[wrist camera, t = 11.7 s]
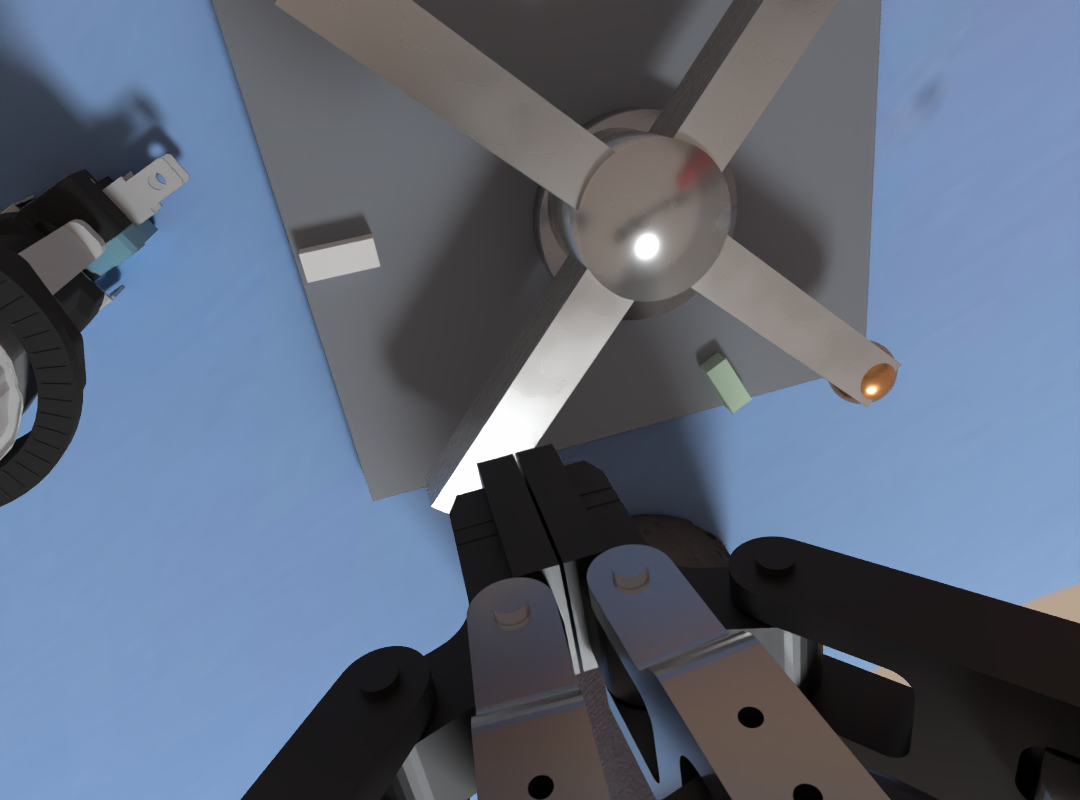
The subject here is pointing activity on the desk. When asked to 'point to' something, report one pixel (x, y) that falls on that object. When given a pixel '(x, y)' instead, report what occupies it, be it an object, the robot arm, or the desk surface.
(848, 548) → the desk surface
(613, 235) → the capstan
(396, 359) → the stand
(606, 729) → the pillar candle
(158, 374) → the desk surface
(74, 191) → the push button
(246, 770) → the desk surface
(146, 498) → the desk surface
